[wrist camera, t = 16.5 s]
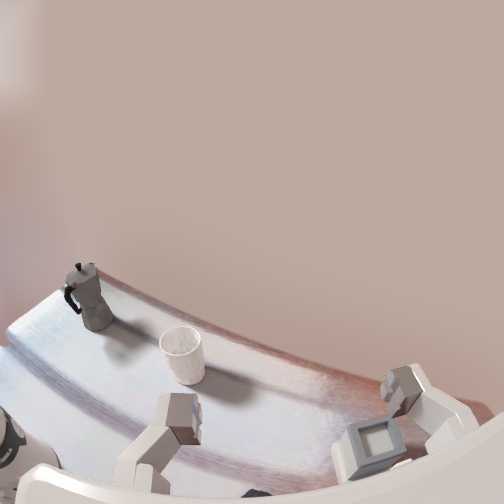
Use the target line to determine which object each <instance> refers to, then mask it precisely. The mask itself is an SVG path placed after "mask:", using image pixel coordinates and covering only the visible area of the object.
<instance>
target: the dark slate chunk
mask: <svg viewBox="0 0 504 504" xmlns="http://www.w3.org/2000/svg"><path fill="white" fill-rule="evenodd" d="M266 496H271V495H270V494H269V493H267V492H263V491H257V490H254V489H250V490H249V491H248V492H247V493H246V494H245V495H243V496H242V497H241V498H251V497H266Z"/></svg>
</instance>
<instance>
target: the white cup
mask: <svg viewBox="0 0 504 504" xmlns="http://www.w3.org/2000/svg"><path fill="white" fill-rule="evenodd" d="M159 345H160V348H161V350H162V352H163V355H164V357H165V360H166V362H167V364H168V366H169V368H170V370H171V372H172V374H173V376H174V378H175V379H176V381H177V382H179V383H181V384H182V385H193V384H197V383H198V382H200V381H201V380H202V379H203V378H204V376H205V366H204V355H203V348H202V342H201V336H200V334H199V332H198V331H197V330H195V329H194V328H191V327H187V326H179V327H174V328H171V329H169V330H168V331H166V332H165V333H164V334H163V335H162V336H161V338H160V341H159Z"/></svg>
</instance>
